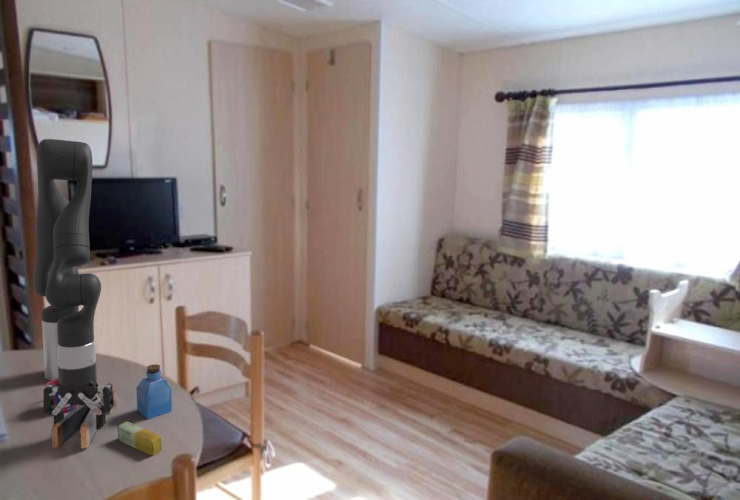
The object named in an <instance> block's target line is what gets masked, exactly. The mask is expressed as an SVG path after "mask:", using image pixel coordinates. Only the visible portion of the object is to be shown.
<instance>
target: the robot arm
mask: <svg viewBox="0 0 740 500" xmlns="http://www.w3.org/2000/svg"><path fill="white" fill-rule="evenodd" d="M36 150H37V151H36V171H37V173H36V174H37V209H36V210H37V211H36V218H35V219H36V222H35V225H36V226H35V237H36V238H35V240H36V241H35V243H36V245H35V246H36V249H35V258H34V259H35V261H34V266H33V267H34V268H33V275H32V285H33V290H34V292H35V294H36V295H37V296H40V297H45V300H46V302H47V303H48V304H49V305H48V306H46V307H44V308H43V309H42V311H41V329H42V330H41V332H42V333H41V334H42V345H43V346H42V347H43V348H42V349H43V367H44V379H46V380H47V381H52V380H54V379H56V378H57V377H58V378H59V386H54V384H49V385H48V386H47V387H46V386H45V388H44V389H43V397H42V399H43V403H42V404H43V407H42V409H43V410H42V411H43V413H45V414H51V413H52V416H53V426H54V425H55V424H56V423H58V422H59V421H60V420H61V419H63V418H64V417H65V413H64V411H62V409H63V408H64V407H65V405H66V404H67V403H68V404H70V405H77V406H79V405H85V404H86V405H87V406H88V407H89V408H90V409H93V410H94V411H95V413H96V414H97V415H96V429H97V430H98V431H99V430H101V429H102V428H103V427H104V426H105V425H106V422H107V421H106V420H107V419H106V414H105V412H110V410H111V409H112V408H113V407H114V399H113V390H112V388H113V384H111V383H107V384H105V385H99V384H98V382H97V381H98V377H97V376H98V375H97V372H98V371H97V349H96V344H95V334H94V331H95V328H94V327H95V326H94V324H95V314H96V309H97V306H98V302H99V298H100V296H101V292H102V284H101V283H102V282H101V280H100V278H99V277H98V276H97V275H95V274H94V273H88V272H87V273H79V269H78V267H80V266H83V265H85V264H87V263H89V262H90V258H91V249H90V247H91V246H90V245H91V244H90V232H89V230H90V229H89V226H90V225H89V221H90V220H89V219H90V218H89V217H90V211H91V210H90V208H91V201H92V200H91V198H92V187H93V186H92V183H93V155H92V150H91V147H90V145H89V144H88V143H86V142H81V141H77V140H76V141H73V140H65V139H64V140H63V139H55V138H45V139H42V140H40V142H39V144H38V146H37V149H36ZM55 180H59V181H74V182H75V181H76V187H75V191H74V194H73V195H72V198H70V200H68V199H67V198H66V197H65V196H64V194H63V193H62V192H61V191H60V190H59V188H58V185H57V184H56V181H55ZM80 306H83V307H82V308H81V309H79V307H80ZM98 391H99V392H100V393H101V395H102V396H103V399H104V404H103V403H102V402H101V399H100V398H99V397H98V395H97V394H96V393H97V392H98ZM56 392H58V393H59V394H60V396H61V397H62V398H63V399H62V400H61V401H60V403H59V404H58V405H57V406H56V405H54V395H55V394H56ZM92 400H93V401H92ZM97 430H96V431H97Z"/></svg>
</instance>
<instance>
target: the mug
mask: <svg viewBox="0 0 740 500" xmlns="http://www.w3.org/2000/svg"><path fill="white" fill-rule="evenodd" d="M49 384H54V386H59V378H58V377H57V378H56V379H54V380H52V381H51V380H48V382H47V383H45V388H46V387H47V386H48V385H49ZM62 399H63V398H62V397H61V396H60V394H59V393H58V392H56V394H55V395H54V405H56V406H57V405H58V404H59V403H60V401H61V400H62ZM76 407H78V405H70V404H68V403H67V404H66V405H65V407H64V408H63V409H62V411H64V414H67V413H70V412H71V411H73V410H74V409H75V408H76ZM50 414H52V413H50ZM52 415H53V414H52Z"/></svg>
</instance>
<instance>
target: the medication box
mask: <svg viewBox="0 0 740 500" xmlns="http://www.w3.org/2000/svg"><path fill="white" fill-rule="evenodd" d="M116 429H117V438H118V441H120V442H121V443H124V444H125V445H128V446H131V447H133V448H135V449H137V450H138V451H141V452H143V453H145V454H148V455H149V456H153V457H154V456H156V455H158V454H160V453H161V452H162V451H163V448H162V447H163V446H162V445H163V443H162V436H161V435H159V434H157V433H155V432H152V431H150V430H148V429H145V428H143V427H142V426H139V425H136V424H134V423H131V422H130V421H128V420H126V421H123V422H121V423H119V424H118V425H117V427H116Z"/></svg>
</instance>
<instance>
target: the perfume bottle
mask: <svg viewBox="0 0 740 500" xmlns="http://www.w3.org/2000/svg"><path fill="white" fill-rule="evenodd" d="M146 369H147V371H146V372H145V373H146V377H144V378H142V379H141V381H140V382H139V384H138V385H137V386H136V410H137V412H139V413H140V414H141V415H142V416H144V418H146V419H147V420H151V419H153V418H156V417H160V416H162V415H165V414H168V413H170V412H173V408H172V407H173V405H172V404H173V402H172V401H173V399H172V388H171V386H170V385H169V383H168V382H167V380H166V379H165V378H164V377H162V376H161V375H162V370H161V365H160V364H158V363H157V364H156V363H154V364H149V365H148V366H146Z"/></svg>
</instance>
